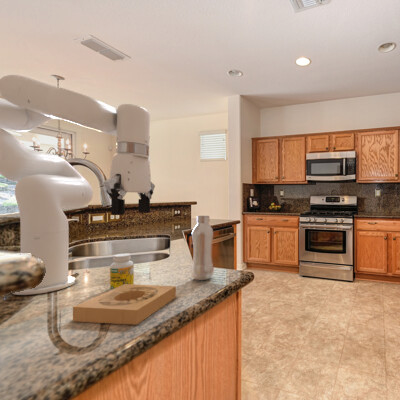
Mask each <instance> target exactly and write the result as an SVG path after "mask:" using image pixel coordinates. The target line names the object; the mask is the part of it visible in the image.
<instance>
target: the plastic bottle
mask: <svg viewBox="0 0 400 400" xmlns="http://www.w3.org/2000/svg"><path fill="white" fill-rule="evenodd" d="M210 221H211V220H210V215H196V221H195V222H196V225H195V226H194V227H193V229H192V231H191V239H192V248H193V259H192V266H191V277H192V278H193V280H197V281H205V280H209V279H211V278H213V275H214V271H215V269H214V263H213V254H212V253H213V242H214V241H213V240H214V233H215V232H214V229H213V227H212V226H211V225H210Z"/></svg>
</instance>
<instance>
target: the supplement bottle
mask: <svg viewBox="0 0 400 400" xmlns="http://www.w3.org/2000/svg"><path fill="white" fill-rule="evenodd" d="M131 259H132V256H131V253H118V254H113V257H112V261H113V262H112V263H111V264H110V265H109V289H110V290H113V289H115V288H117V287H119V286H122V285H124V284H133V285H135V282H134V281H135V280H134V279H135V277H134V276H135V274H134V273H135V271H134V269H135V268H134V262H133V261H132V260H131ZM110 290H109V291H110Z"/></svg>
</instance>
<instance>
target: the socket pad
mask: <svg viewBox="0 0 400 400" xmlns="http://www.w3.org/2000/svg"><path fill="white" fill-rule="evenodd" d="M176 294H177V286H176V285H156V284H155V285H154V284H134V285H133V284H124V285H122V286H119V287H117V288H115V289H113V290H108V291H106V292H103V293H102V294H99V295H97V296H95V297H93V298H90V299H87V300H85V301H83V302H81V303H79V304H76V305H74V306H72V322H80V323H82V322H83V323H96V324H97V323H98V324H113V325H114V324H116V325H135V326H137V325H138V324H140V323H141V322H143V321H144V320H146V319H147V318H148V317H151V315H154V313H156V312H157V311H158V310H160V309H161V308H163V307H164V306H166V305H167V304H169V303H170V302H172V301H173V300H175V299H176V298H177V295H176Z"/></svg>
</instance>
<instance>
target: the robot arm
mask: <svg viewBox="0 0 400 400" xmlns="http://www.w3.org/2000/svg"><path fill="white" fill-rule="evenodd" d="M0 96H1V97H0V175H1V176H2V177H4V178H5V179H6V180H8V181H12V182H16V184H15V187H14V197H15V200H16V203H17V207H18V212H19V220H20V221H19V223H20V228H19V229H20V254H21V253H31V254H32V255H34V256H36V257H38V258H39V259H41V260H42V261H43V262H44V264H45V268H46V273H45V276H44V278H43V280H42V282H41V283H40V284H39V285H38V286H36V287H35V288H32V289H27V290H24V291H20V292H15V293H12V295H16V296H31V295H40V294H45V293H52V292H55V291H60V290H62V289H65V288H68V287H71V286H73V285H74V284H76V277H75V276H71V275H70V276H69V249H70V248H69V246H70V245H69V243H70V240H69V239H70V237H69V236H70V235H69V234H70V233H69V232H70V229H69V227H70V226H69V221H68V217H67V216H66V214H65V212H64V211H63V209H72V208H73V209H74V208H81V207H84V206H86V205H88V204H89V203H90V202H91V201H92V199H93V196H94V192H93V188H92V186H91V184H90V183H89V181H88V180H87V179H86V178H85V177H84V176H83V175H82V174H81V173H80V172H79V171H78V170H77V169H76V168H74V167H73V165H71V164H70V163H69V161H67V160H66V159H65V158H63V157H61V156H60V155H56V154H52V153H48V152H43V151H37V150H33V149H30V148H29V147H27V146H25V145H24V144H23V143H21V142H20V140H19V139H17V137H15V136H14V135H13V134H12V133H10V132H8V131H7V130H9V131H13V132H19V133H20V132H21V133H22V132H30V131H32V130H35V129H37V128H39V127H41V126H43V125H45V124H47V123H49V122H51V121H53V120H64V121H67V122H70V123H73V124H75V125H76V124H77V125H79V126H81V127H84V128H88V129H90V130H95V131H98V132H100V133H104V134H107V135H110V136H115V137H116V146H115V147H116V148H115V149H116V150H115V152H116V153H114V154H113V157H112V160H111V166H110V173H109V178H108V179H106V180H103V184H104V185H103V186H104V187H105V191H106V194H107V195H108V199H109V200H110V201H111V204H110V214H111V215H112V216H124V215H125V212H126V209H125V206H126V199H124V197H125V195H126V194H127V193H136V194H137V195H138V197H139V198H138V206H137V210H138V211H137V213H140V214H141V213H143V214H149V213H151V199H152V196H153V194H154V191H155V187H156V185H155V184H154V183H153V182H152V181H151V180H152V179H151V165H150V121H151V120H150V119H151V118H150V116H151V115H150V112H149V111H148V109H147V108H145V107H143V106H140V105H137V104H132V103H122V104H119V105H118V107H117V108H116V107H114V106H111V105H109V104H107V103H105V102H104V101H103V102H102V101H101V100H98V99H96V98H93V97H91V96H89V95H86V94H83V93H80V92H77V91H73V90H70V89H66V88H63V87H59V86H55V85H51V84H49V83H45V82H43V81H40V80H36V79H33V78H30V77H28V76H23V75H19V74H8V75H5V76H3V77H1V78H0ZM2 97H3V98H2Z"/></svg>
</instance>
